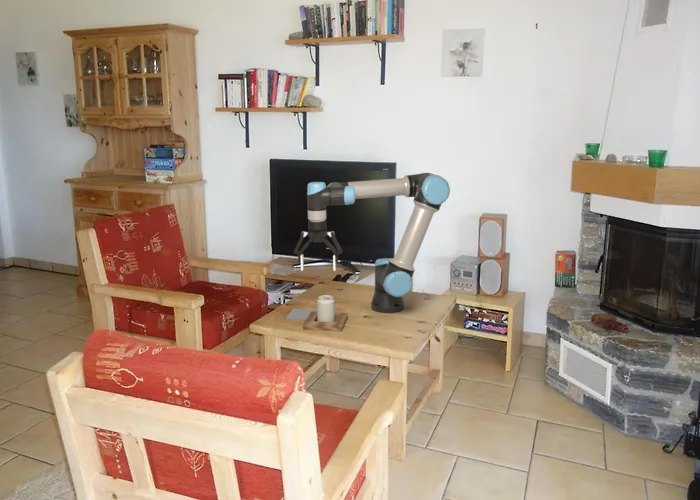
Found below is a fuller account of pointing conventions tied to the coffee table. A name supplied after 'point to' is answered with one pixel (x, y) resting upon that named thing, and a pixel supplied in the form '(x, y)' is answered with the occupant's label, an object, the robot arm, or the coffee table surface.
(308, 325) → the pocket block
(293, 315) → the plate
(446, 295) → the coffee table surface
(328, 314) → the can
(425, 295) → the coffee table surface
